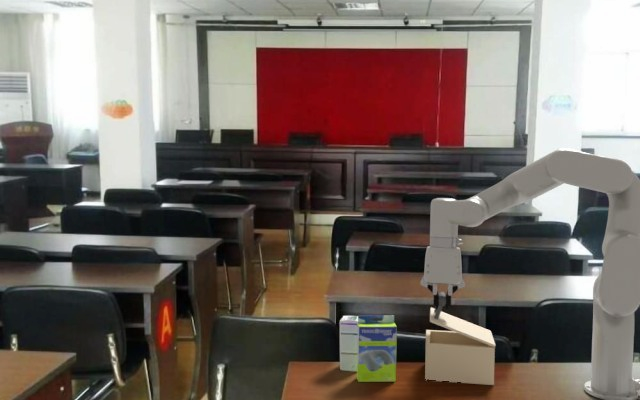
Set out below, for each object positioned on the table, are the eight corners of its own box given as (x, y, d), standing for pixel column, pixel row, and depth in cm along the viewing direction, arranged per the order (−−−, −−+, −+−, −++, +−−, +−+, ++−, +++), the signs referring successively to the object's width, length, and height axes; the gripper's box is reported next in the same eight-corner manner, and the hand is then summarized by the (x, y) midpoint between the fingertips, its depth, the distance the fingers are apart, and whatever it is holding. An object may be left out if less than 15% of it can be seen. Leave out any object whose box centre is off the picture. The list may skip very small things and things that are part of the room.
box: (357, 382, 165) (358, 319, 164) (356, 377, 169) (356, 315, 168) (396, 382, 166) (397, 318, 164) (394, 376, 170) (395, 314, 168)
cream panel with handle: (490, 332, 177) (498, 311, 176) (494, 347, 163) (504, 324, 162) (430, 309, 179) (438, 288, 179) (429, 321, 166) (438, 299, 165)
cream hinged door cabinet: (489, 367, 177) (489, 333, 177) (493, 385, 164) (494, 348, 163) (425, 363, 181) (426, 329, 180) (425, 380, 167) (425, 344, 166)
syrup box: (359, 372, 173) (360, 321, 172) (339, 370, 174) (339, 319, 173) (362, 365, 179) (362, 316, 178) (342, 363, 180) (342, 314, 179)
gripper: (472, 242, 173) (470, 306, 174) (414, 240, 176) (413, 303, 177) (474, 245, 165) (472, 313, 167) (414, 243, 168) (412, 310, 170)
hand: (442, 308), depth 172 cm, fingers closed on cream panel with handle, 2 cm apart
